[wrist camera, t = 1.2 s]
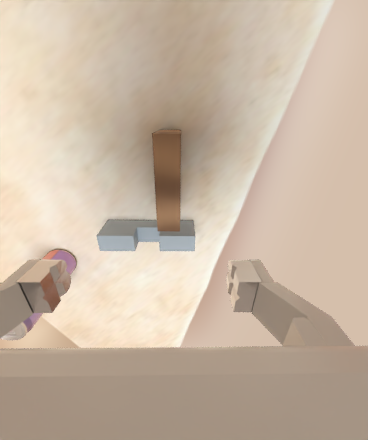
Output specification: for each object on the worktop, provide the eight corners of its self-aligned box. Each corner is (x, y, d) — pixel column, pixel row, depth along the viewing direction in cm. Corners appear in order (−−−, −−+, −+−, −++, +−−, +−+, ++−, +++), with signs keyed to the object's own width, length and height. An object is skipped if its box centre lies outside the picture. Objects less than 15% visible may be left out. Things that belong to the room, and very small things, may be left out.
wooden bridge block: (161, 129, 29) (152, 133, 20) (180, 130, 29) (180, 133, 20) (163, 203, 34) (157, 231, 26) (180, 203, 34) (179, 231, 26)
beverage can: (76, 250, 39) (22, 317, 26) (78, 272, 42) (30, 343, 28) (46, 246, 38) (-26, 312, 25) (49, 268, 41) (-14, 339, 28)
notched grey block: (108, 219, 36) (96, 235, 31) (193, 220, 36) (195, 236, 31) (110, 233, 37) (100, 250, 32) (192, 233, 38) (194, 251, 33)
